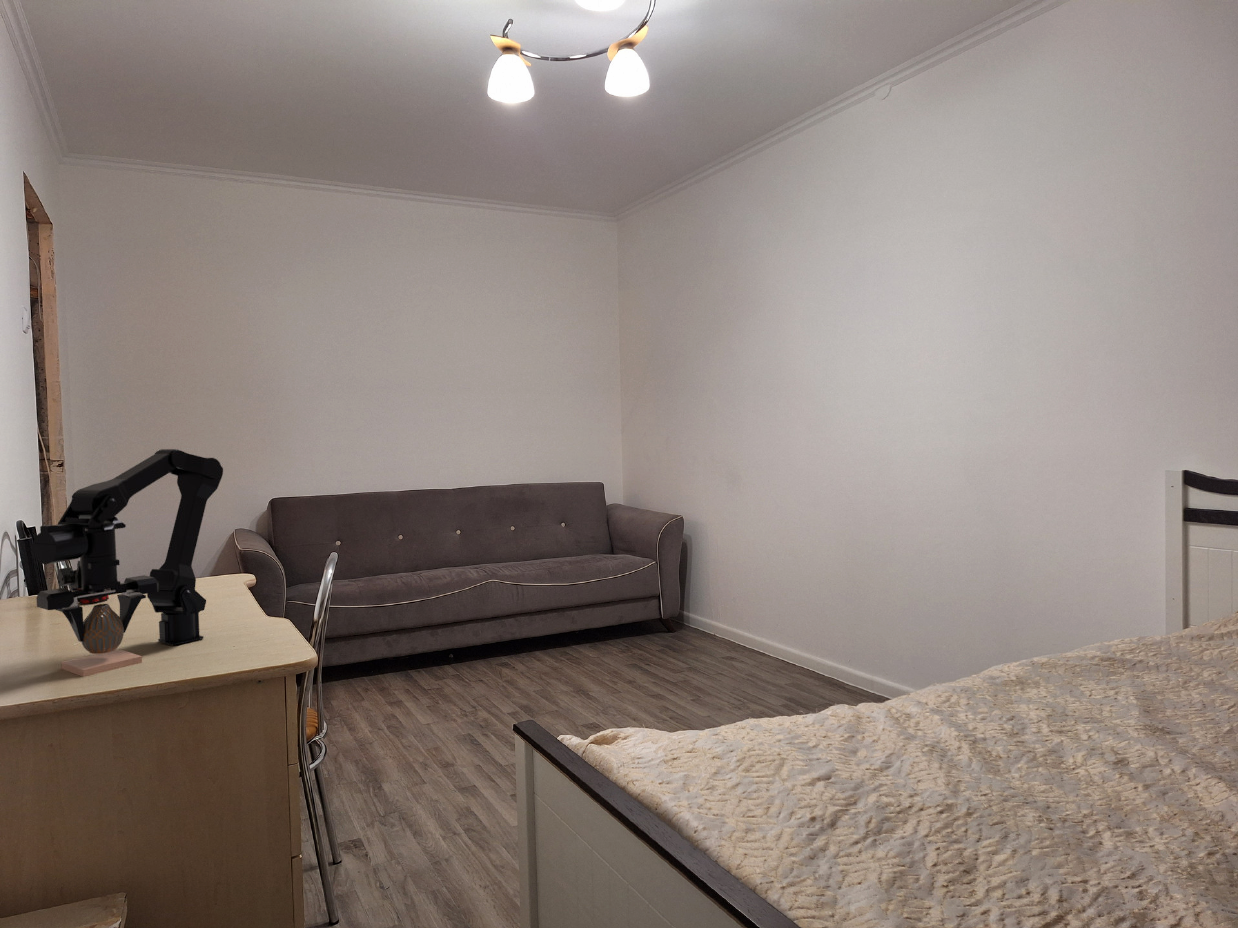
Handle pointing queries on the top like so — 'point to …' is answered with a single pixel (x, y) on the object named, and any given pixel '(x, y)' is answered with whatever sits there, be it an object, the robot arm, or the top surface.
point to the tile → (101, 662)
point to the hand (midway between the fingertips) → (102, 636)
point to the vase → (102, 630)
